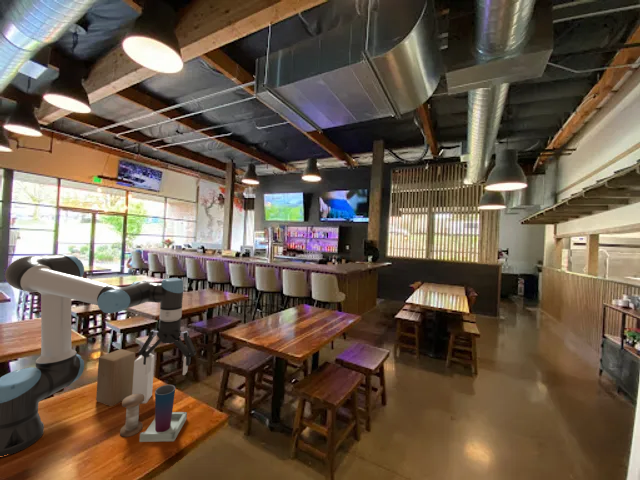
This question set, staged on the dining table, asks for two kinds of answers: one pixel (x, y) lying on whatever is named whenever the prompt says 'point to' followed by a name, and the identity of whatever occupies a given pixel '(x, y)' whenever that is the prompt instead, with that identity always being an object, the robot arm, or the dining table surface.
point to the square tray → (169, 434)
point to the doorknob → (132, 415)
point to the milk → (143, 378)
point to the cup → (164, 407)
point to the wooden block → (115, 377)
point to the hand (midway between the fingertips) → (166, 373)
